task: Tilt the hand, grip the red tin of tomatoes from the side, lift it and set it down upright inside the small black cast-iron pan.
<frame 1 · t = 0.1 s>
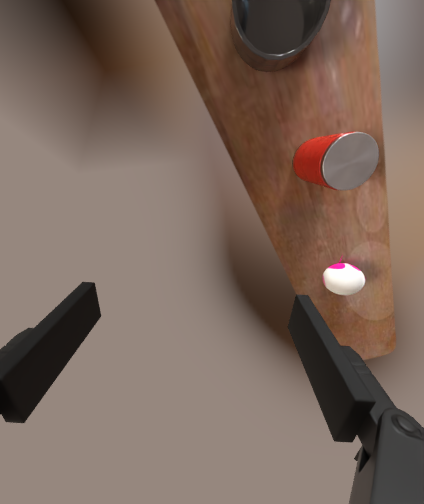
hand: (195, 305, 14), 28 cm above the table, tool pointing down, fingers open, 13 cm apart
tomato can: (312, 160, 36), on the table
skillet: (272, 19, 29), on the table
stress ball: (336, 268, 45), on the table
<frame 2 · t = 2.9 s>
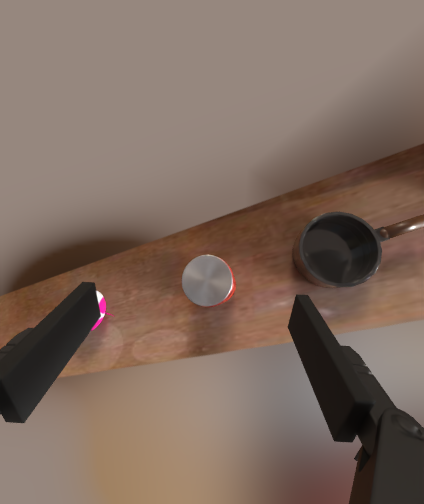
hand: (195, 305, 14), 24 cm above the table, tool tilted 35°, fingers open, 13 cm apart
tomato can: (216, 284, 38), on the table
skillet: (327, 253, 37), on the table
skillet handle: (401, 227, 32), point 3 cm above the table
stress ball: (100, 310, 40), on the table
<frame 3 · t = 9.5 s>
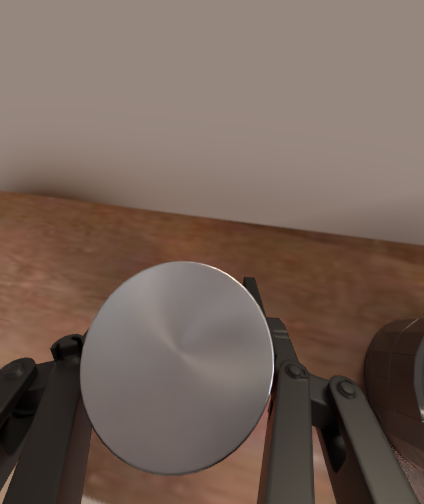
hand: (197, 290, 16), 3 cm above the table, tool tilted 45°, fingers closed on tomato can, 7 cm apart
tomato can: (195, 340, 18), on the table, touching gripper
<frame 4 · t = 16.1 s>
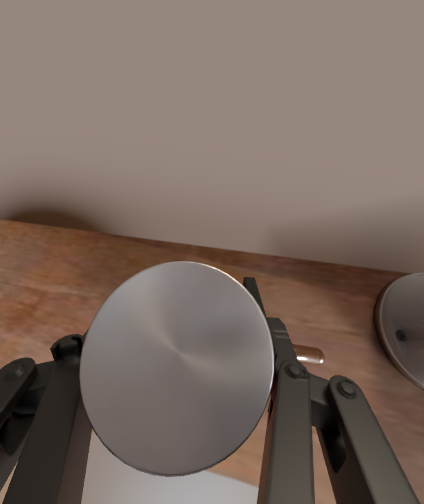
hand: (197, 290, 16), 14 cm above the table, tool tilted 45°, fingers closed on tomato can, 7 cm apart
tomato can: (195, 340, 18), point 11 cm above the table, touching gripper
skillet handle: (286, 351, 24), point 3 cm above the table
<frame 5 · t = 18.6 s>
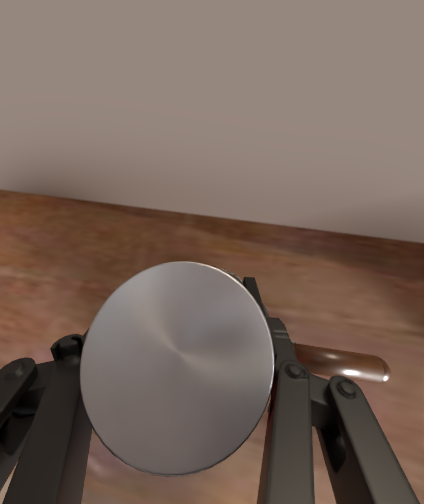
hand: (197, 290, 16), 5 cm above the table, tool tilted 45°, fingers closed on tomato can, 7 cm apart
tomato can: (195, 341, 18), point 2 cm above the table, touching gripper
skillet handle: (328, 361, 16), point 3 cm above the table
when the fingers open (6 cm above the table, at t = 22.8 s): tomato can drops 2 cm, resting on skillet.
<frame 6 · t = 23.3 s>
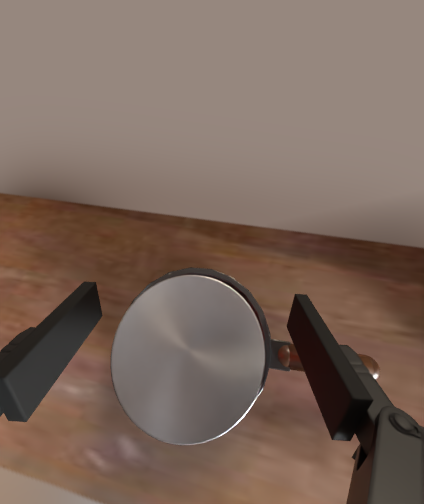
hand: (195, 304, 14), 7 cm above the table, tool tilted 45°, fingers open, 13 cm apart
tomato can: (198, 340, 20), point 1 cm above the table, touching skillet
skillet: (196, 340, 20), on the table
skillet handle: (321, 361, 16), point 3 cm above the table
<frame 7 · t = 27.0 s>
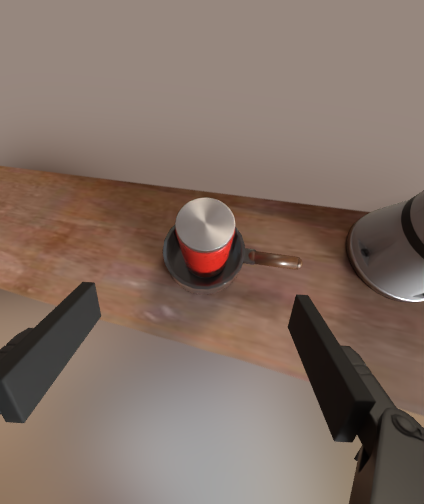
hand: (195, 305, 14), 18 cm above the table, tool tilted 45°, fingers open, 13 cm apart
tomato can: (205, 258, 34), point 1 cm above the table, touching skillet
skillet: (204, 259, 34), on the table
skillet handle: (272, 259, 31), point 3 cm above the table
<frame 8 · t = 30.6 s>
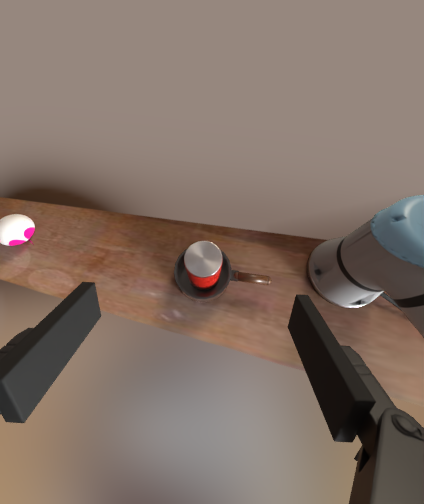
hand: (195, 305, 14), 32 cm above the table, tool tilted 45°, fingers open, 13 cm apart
tomato can: (204, 275, 47), point 1 cm above the table, touching skillet
skillet: (203, 275, 48), on the table
skillet handle: (250, 278, 44), point 3 cm above the table
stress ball: (27, 237, 50), on the table
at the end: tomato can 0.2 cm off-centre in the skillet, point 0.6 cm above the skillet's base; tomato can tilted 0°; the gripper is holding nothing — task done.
